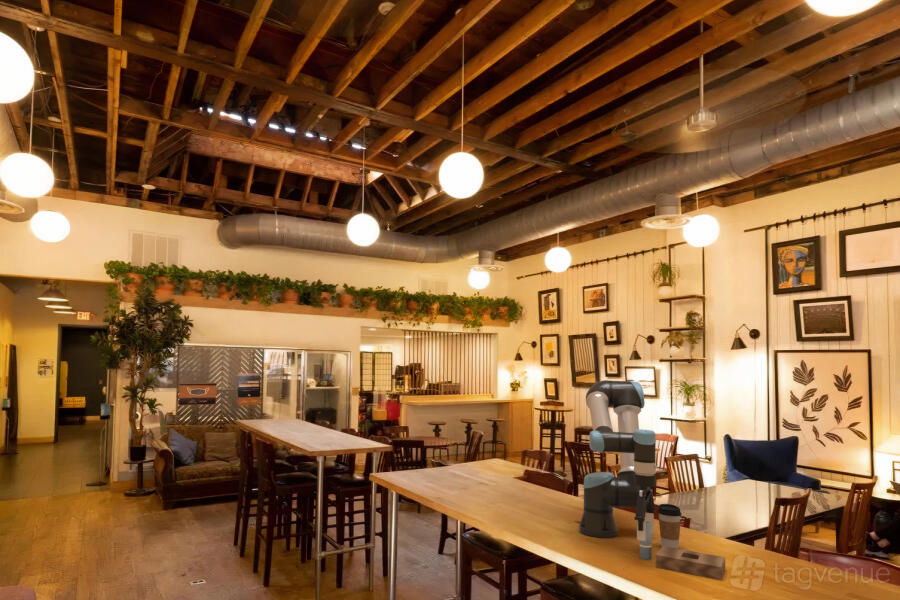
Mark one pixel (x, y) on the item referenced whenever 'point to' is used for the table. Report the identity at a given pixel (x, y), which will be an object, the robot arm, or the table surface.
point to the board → (691, 562)
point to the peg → (646, 544)
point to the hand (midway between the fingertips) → (645, 536)
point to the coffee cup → (669, 525)
